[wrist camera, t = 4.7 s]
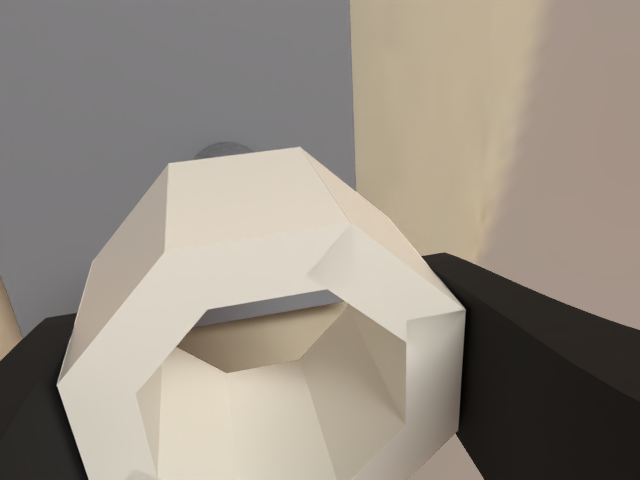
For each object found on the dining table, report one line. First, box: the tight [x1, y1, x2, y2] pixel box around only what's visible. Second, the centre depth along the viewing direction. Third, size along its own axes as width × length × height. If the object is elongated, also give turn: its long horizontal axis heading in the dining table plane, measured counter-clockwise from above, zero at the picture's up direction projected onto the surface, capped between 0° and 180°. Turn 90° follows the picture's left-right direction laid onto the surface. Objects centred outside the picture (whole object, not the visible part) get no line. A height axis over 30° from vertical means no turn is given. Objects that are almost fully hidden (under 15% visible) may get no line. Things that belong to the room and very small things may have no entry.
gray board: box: [0, 0, 356, 338], centre depth 15 cm, size 20×11×1 cm, turn 4°
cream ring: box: [57, 147, 466, 480], centre depth 10 cm, size 6×6×4 cm
